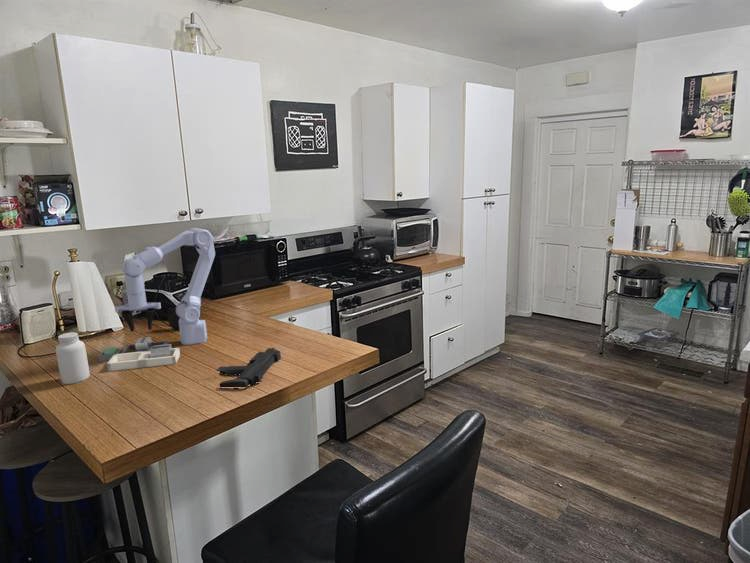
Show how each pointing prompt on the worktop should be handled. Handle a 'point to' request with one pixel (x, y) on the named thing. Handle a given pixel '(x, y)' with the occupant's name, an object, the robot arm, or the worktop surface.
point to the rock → (174, 318)
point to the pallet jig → (140, 360)
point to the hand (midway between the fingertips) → (141, 329)
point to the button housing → (108, 356)
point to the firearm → (250, 369)
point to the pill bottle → (72, 359)
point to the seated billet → (161, 351)
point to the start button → (110, 350)
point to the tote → (132, 346)
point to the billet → (143, 344)
